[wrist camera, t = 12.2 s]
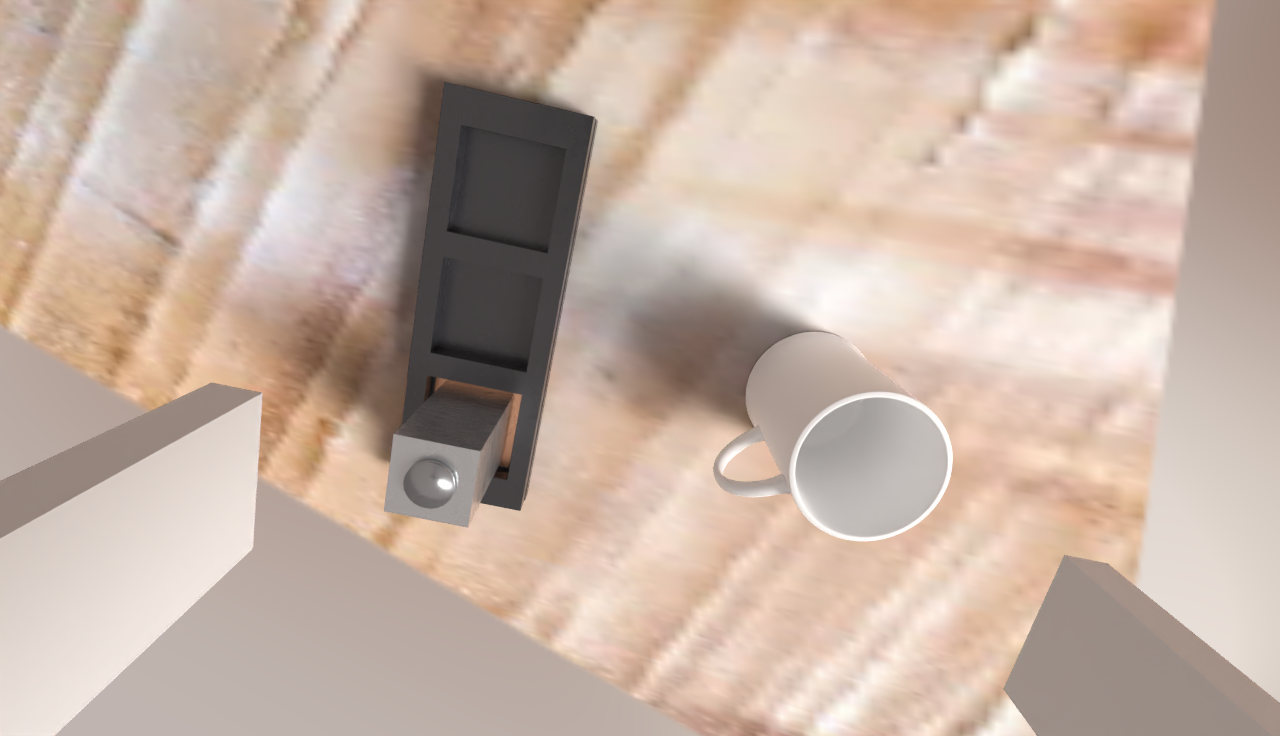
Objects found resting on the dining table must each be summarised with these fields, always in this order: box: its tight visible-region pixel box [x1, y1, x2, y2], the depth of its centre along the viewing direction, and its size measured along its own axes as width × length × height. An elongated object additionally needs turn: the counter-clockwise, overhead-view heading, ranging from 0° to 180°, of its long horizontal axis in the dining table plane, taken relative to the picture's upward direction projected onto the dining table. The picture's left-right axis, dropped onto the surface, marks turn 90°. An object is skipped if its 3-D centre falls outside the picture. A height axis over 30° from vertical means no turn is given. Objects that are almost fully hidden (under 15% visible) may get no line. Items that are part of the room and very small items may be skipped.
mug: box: [713, 332, 953, 541], centre depth 37 cm, size 12×8×12 cm
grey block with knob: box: [384, 382, 513, 527], centre depth 38 cm, size 4×4×10 cm
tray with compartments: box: [401, 82, 598, 511], centre depth 40 cm, size 25×8×2 cm, turn 168°
